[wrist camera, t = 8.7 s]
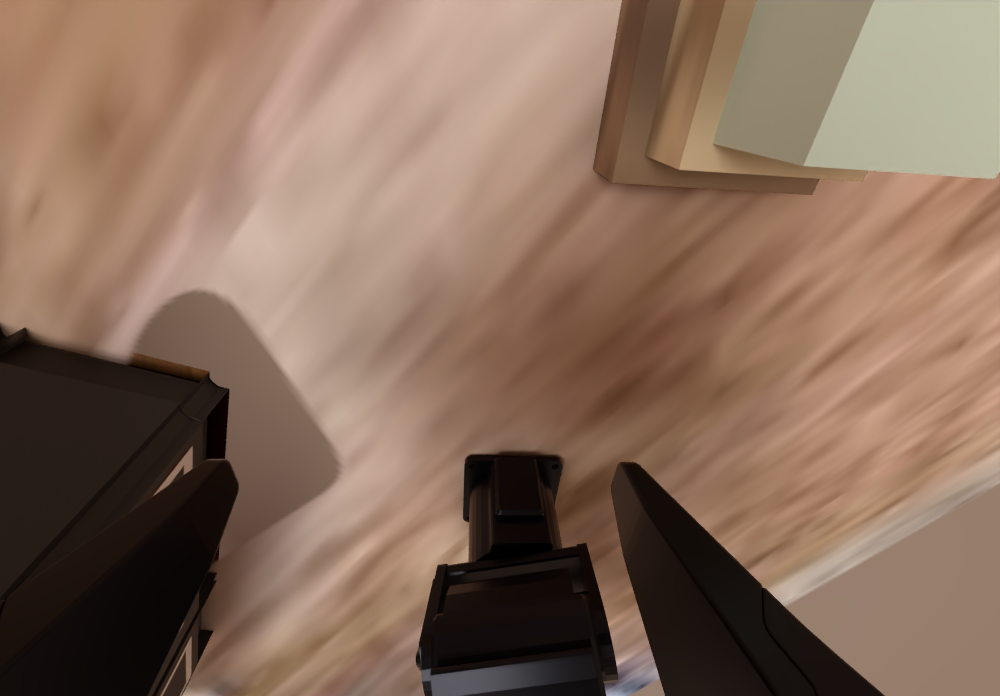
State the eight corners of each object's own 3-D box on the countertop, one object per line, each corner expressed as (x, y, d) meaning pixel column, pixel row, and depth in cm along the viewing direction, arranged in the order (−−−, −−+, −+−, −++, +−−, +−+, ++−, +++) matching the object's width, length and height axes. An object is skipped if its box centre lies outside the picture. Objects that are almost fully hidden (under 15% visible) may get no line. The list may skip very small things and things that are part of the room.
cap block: (854, 153, 12) (994, 179, 9) (712, 143, 12) (802, 166, 9) (952, -49, 10) (1191, -116, 7) (777, -68, 10) (937, -150, 6)
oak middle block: (799, 166, 15) (862, 181, 13) (644, 155, 15) (678, 169, 12) (891, -52, 12) (999, -88, 10) (697, -74, 12) (757, -117, 9)
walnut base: (766, 180, 19) (811, 194, 16) (593, 169, 18) (612, 183, 15) (861, -65, 14) (943, -97, 12) (637, -90, 14) (674, -130, 11)
